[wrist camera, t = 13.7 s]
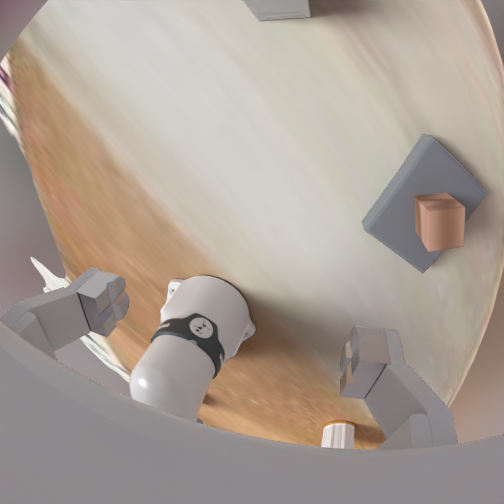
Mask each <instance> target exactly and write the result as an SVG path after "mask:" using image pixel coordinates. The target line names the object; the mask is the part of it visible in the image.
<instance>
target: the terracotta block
mask: <svg viewBox="0 0 504 504" xmlns="http://www.w3.org/2000/svg"><path fill="white" fill-rule="evenodd" d="M414 203H415V230H416V233H417V234H418V236H419V237H420V239H421V241H422V242H423V244H424V245H425V247H426V249H427V250H428V252H430V251H437V250H445V249H452V248H459V247H463V243H464V228H465V207H464V206H463V205H462V204H460V203H459V202H458V201H457V200H455V199H454V198H453V197H452V196H450V195H449V194H448V193H437V194H427V195H417V196H414Z"/></svg>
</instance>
